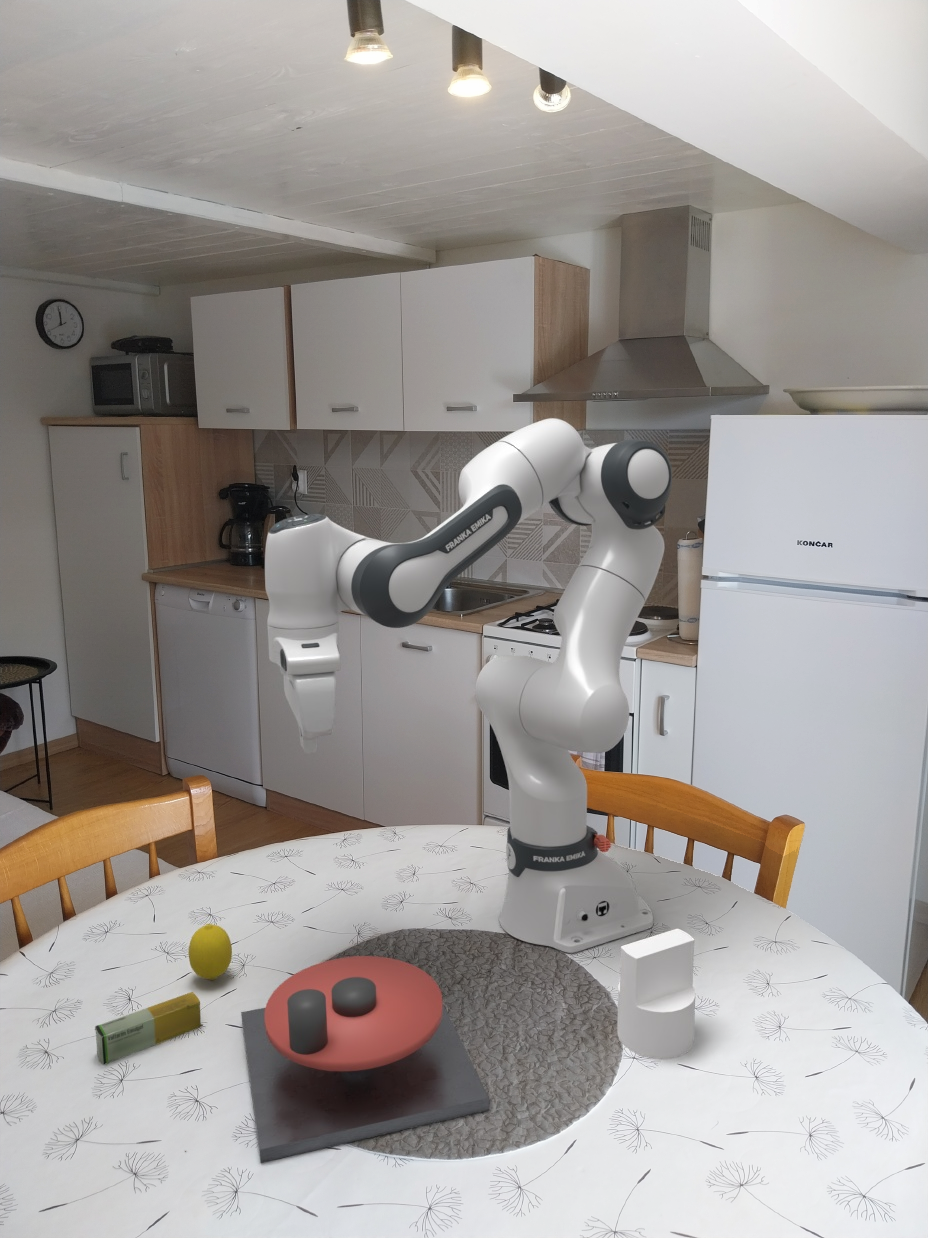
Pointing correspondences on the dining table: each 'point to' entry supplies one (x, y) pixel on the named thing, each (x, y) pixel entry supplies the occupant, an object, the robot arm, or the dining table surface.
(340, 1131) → the valve stand
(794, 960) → the dining table surface
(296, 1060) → the handwheel
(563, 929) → the robot arm
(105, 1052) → the medication box
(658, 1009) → the base with upright slab
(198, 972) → the lemon
